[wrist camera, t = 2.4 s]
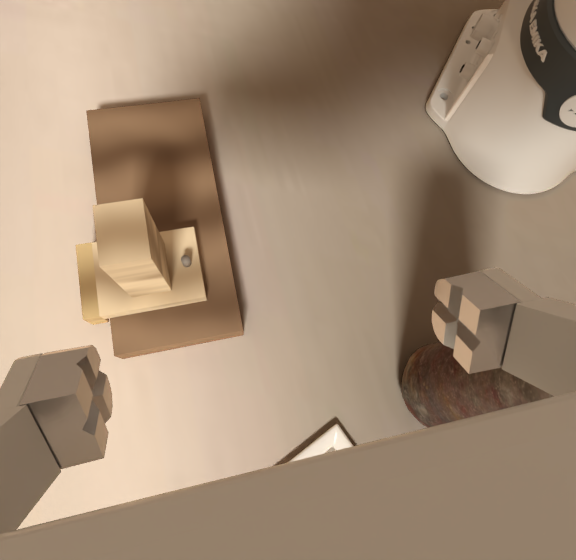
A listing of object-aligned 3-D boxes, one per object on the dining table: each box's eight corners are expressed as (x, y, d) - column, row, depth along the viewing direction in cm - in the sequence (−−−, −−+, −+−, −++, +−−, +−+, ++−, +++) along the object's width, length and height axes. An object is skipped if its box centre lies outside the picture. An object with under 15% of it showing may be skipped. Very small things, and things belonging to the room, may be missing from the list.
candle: (460, 451, 36) (702, 506, 17) (382, 409, 37) (535, 418, 18) (489, 368, 39) (733, 337, 19) (415, 330, 39) (584, 261, 20)
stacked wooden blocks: (86, 254, 36) (27, 199, 26) (196, 237, 38) (180, 178, 28) (93, 324, 35) (34, 294, 25) (208, 303, 36) (195, 266, 26)
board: (95, 127, 41) (86, 110, 39) (201, 115, 42) (199, 98, 40) (122, 358, 36) (114, 355, 33) (243, 335, 37) (243, 330, 35)
